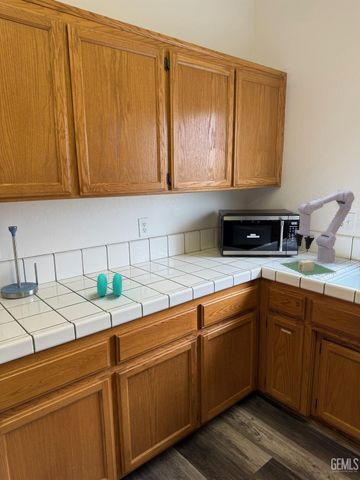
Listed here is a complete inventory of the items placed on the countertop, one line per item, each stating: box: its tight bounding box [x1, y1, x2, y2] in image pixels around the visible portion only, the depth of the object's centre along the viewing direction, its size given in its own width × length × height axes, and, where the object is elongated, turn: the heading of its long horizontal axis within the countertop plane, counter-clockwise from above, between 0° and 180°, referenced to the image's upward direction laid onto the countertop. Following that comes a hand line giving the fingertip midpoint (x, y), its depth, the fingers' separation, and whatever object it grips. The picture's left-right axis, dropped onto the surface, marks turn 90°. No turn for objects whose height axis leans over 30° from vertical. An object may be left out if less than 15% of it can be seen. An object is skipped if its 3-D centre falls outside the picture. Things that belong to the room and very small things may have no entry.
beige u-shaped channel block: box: [298, 259, 315, 272], centre depth 184 cm, size 7×4×5 cm, turn 107°
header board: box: [279, 261, 337, 277], centre depth 190 cm, size 20×24×3 cm
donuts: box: [96, 272, 123, 297], centre depth 149 cm, size 10×10×10 cm
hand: (303, 247), depth 197 cm, fingers open, 7 cm apart
